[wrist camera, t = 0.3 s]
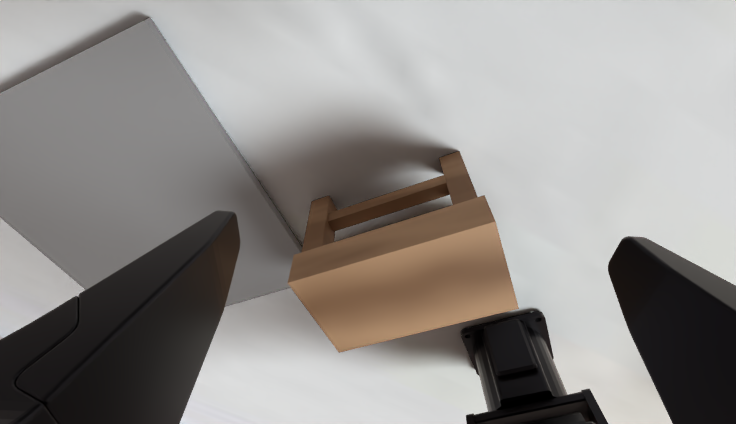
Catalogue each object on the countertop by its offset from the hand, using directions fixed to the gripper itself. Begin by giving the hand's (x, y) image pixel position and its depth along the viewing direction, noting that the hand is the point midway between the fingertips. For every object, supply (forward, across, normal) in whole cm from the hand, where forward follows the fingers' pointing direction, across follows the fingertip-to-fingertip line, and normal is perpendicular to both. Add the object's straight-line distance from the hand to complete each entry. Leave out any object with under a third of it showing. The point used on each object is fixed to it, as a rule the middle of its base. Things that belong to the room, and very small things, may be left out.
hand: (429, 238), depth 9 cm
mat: (+13, +15, +10) cm, 22 cm away
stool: (+14, -1, +9) cm, 16 cm away
